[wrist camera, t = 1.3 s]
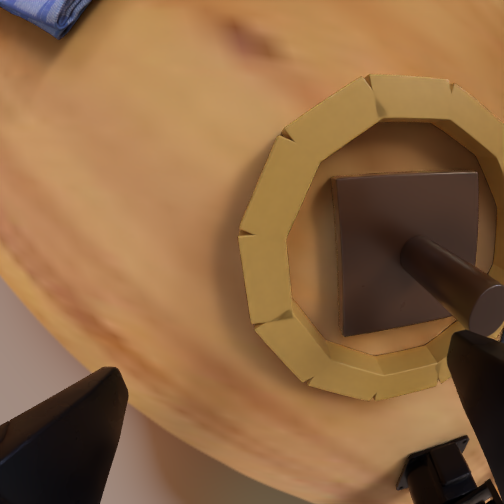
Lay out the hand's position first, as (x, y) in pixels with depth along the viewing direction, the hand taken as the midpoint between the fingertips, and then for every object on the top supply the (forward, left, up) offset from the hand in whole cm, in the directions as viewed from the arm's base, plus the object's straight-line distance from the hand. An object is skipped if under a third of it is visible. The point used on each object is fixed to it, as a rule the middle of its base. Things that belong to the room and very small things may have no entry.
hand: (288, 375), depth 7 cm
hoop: (0, -7, -9) cm, 11 cm away
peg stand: (0, -7, -9) cm, 11 cm away
